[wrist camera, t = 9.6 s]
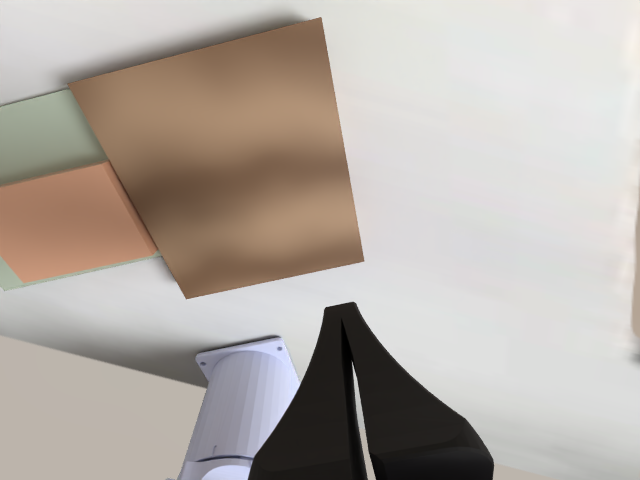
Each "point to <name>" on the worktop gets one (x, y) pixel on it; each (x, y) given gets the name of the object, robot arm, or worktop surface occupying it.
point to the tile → (70, 223)
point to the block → (233, 158)
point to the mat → (46, 153)
